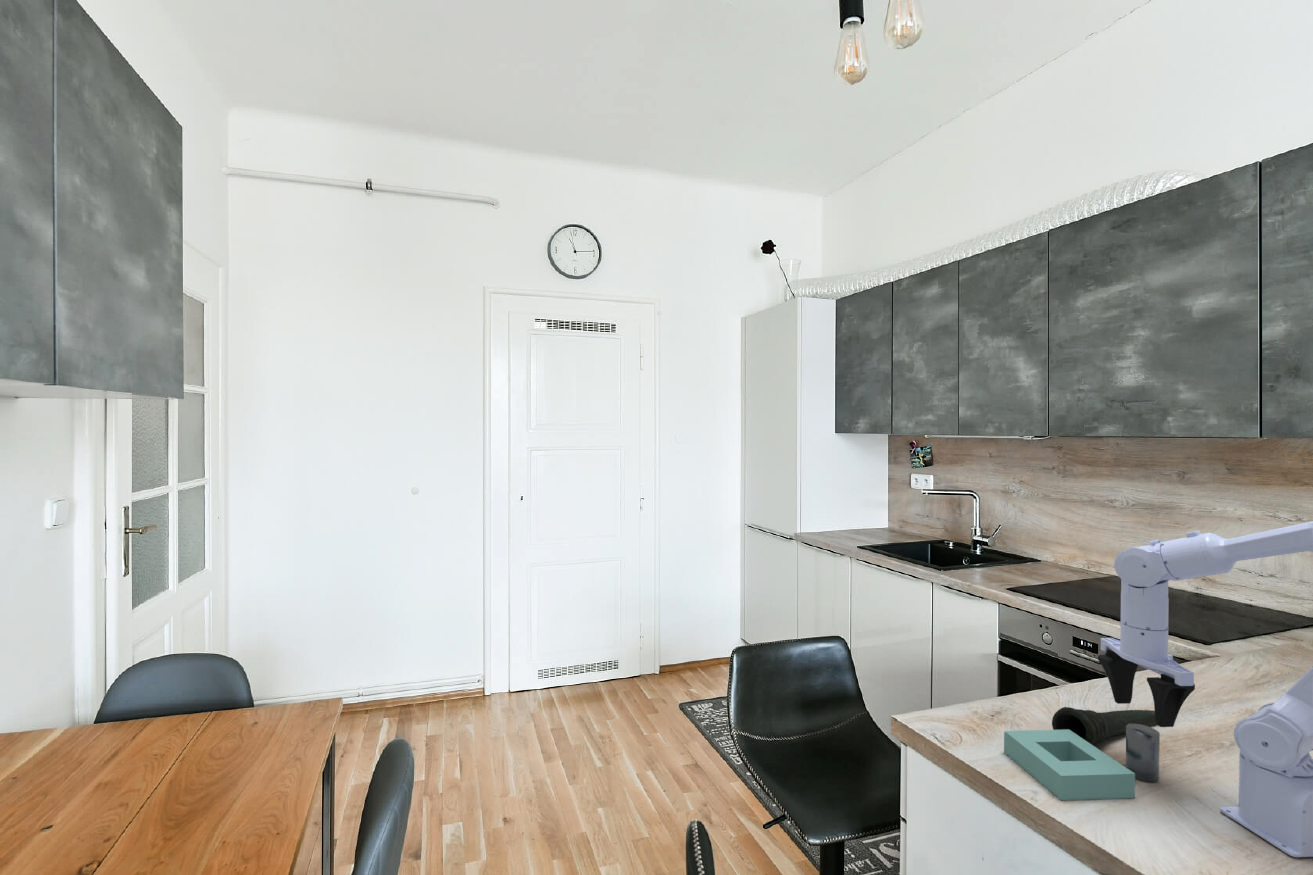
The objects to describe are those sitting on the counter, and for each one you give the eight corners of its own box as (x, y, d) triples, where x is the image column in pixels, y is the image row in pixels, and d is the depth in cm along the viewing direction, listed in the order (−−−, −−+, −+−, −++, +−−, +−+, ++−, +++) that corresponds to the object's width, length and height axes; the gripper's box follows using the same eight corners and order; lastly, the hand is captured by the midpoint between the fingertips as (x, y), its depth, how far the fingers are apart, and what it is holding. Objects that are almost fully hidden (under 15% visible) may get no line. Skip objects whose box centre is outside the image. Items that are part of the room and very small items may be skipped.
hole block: (1134, 797, 88) (1135, 773, 88) (1060, 800, 87) (1061, 775, 87) (1068, 750, 101) (1068, 729, 101) (1004, 752, 100) (1004, 730, 100)
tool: (1086, 760, 98) (1087, 719, 98) (1048, 740, 105) (1049, 701, 104) (1198, 733, 108) (1199, 695, 107) (1157, 716, 114) (1158, 680, 114)
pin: (1166, 782, 92) (1166, 736, 92) (1140, 783, 91) (1141, 736, 91) (1143, 767, 96) (1144, 723, 96) (1119, 768, 95) (1119, 723, 95)
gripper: (1214, 640, 86) (1213, 736, 87) (1129, 610, 101) (1128, 692, 101) (1167, 641, 86) (1166, 737, 86) (1088, 611, 100) (1087, 693, 101)
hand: (1143, 713), depth 94 cm, fingers open, 7 cm apart
